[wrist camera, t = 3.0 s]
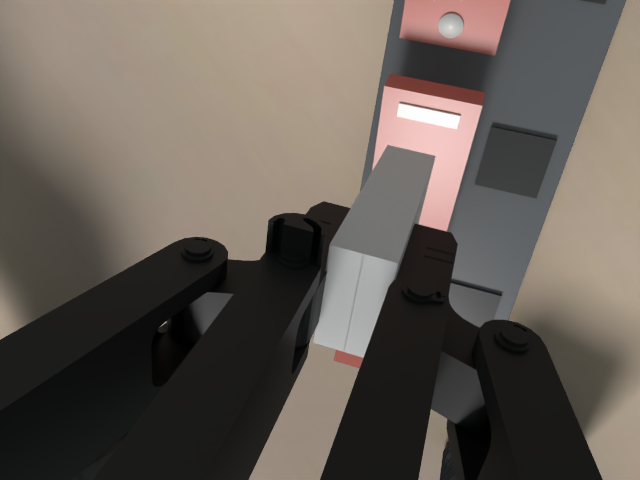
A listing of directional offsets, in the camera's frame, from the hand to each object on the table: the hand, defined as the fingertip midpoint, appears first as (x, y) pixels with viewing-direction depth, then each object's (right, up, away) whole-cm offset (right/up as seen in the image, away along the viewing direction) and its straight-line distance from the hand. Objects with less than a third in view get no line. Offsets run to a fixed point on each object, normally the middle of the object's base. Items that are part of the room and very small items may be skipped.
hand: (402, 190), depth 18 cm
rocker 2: (+3, +3, +11) cm, 12 cm away
